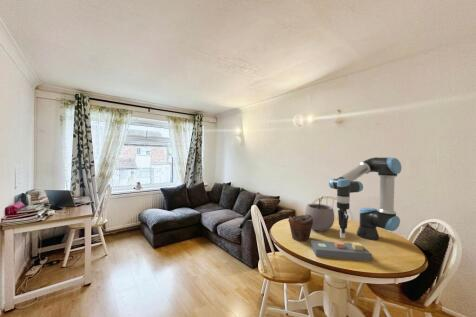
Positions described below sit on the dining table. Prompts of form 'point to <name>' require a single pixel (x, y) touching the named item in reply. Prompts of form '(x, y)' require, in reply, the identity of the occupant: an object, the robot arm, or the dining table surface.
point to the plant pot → (320, 216)
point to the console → (340, 251)
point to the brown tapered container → (301, 227)
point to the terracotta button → (339, 244)
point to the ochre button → (357, 246)
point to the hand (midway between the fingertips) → (342, 237)
